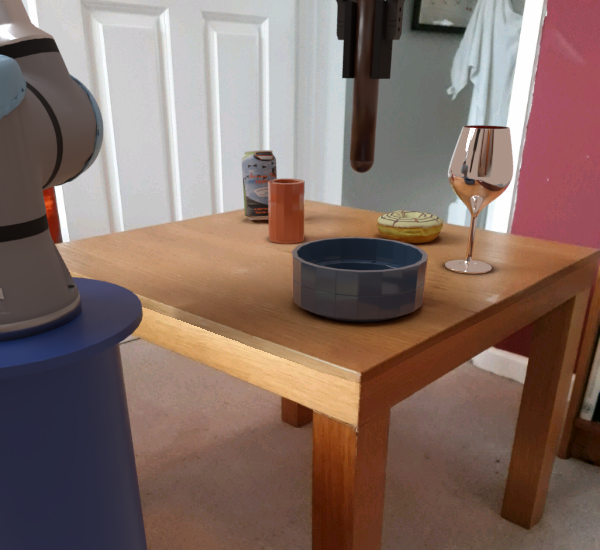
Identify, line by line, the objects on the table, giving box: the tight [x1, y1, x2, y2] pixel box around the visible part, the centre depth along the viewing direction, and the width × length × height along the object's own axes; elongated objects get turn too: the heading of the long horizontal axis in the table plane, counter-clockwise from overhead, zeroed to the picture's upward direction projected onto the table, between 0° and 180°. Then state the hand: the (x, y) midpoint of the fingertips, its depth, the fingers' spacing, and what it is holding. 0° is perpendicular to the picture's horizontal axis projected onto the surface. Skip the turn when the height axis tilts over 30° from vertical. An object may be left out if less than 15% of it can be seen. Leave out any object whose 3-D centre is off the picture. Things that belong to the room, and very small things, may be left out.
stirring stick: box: [349, 0, 380, 174], centre depth 63 cm, size 3×3×19 cm
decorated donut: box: [376, 209, 444, 244], centre depth 103 cm, size 10×11×4 cm
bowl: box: [291, 236, 429, 323], centre depth 73 cm, size 15×15×6 cm
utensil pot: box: [268, 177, 306, 245], centre depth 100 cm, size 6×6×9 cm
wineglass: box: [444, 124, 514, 275], centre depth 84 cm, size 8×8×18 cm
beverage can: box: [241, 149, 278, 221], centre depth 112 cm, size 6×7×12 cm
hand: (366, 78), depth 63 cm, fingers closed on stirring stick, 3 cm apart
